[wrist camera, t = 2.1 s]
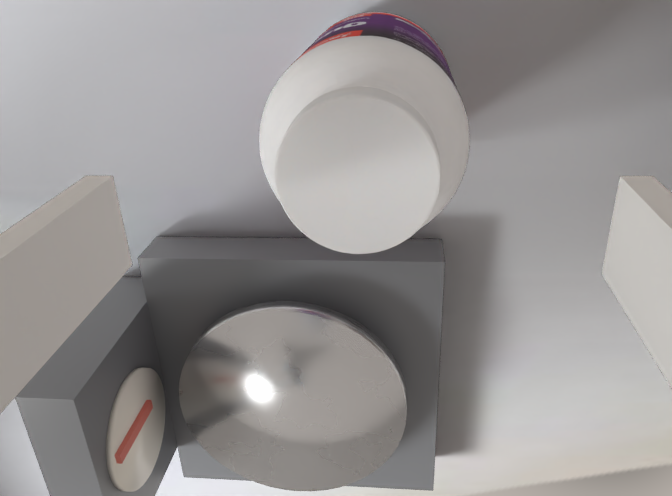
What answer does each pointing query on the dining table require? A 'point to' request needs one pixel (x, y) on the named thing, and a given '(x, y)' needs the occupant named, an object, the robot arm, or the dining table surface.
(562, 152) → the dining table surface
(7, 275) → the robot arm
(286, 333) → the scale pan
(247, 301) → the dial scale
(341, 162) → the pill bottle
